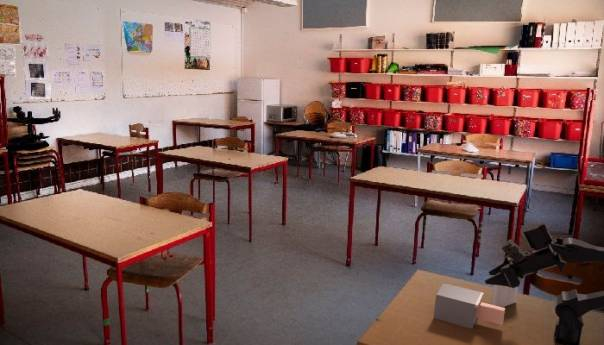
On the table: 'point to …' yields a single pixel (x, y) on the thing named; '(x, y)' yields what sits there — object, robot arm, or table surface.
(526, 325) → the table surface
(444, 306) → the pale grey box
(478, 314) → the pink rectangular block
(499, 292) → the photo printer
